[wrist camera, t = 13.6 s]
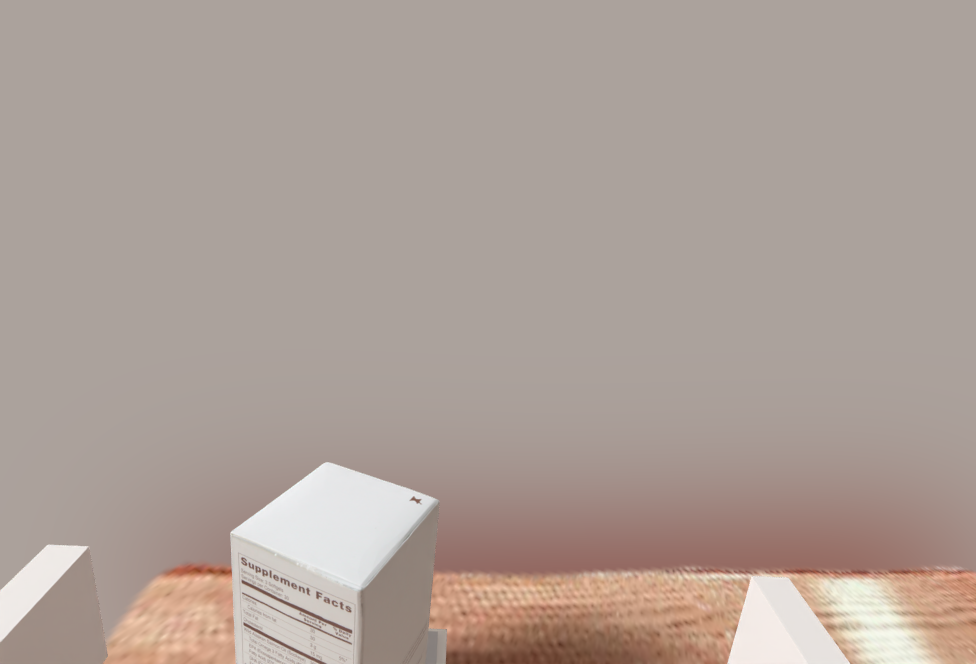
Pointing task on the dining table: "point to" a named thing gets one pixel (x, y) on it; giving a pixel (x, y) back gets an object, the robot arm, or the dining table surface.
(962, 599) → the dining table surface
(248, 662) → the supplement box
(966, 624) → the dining table surface
